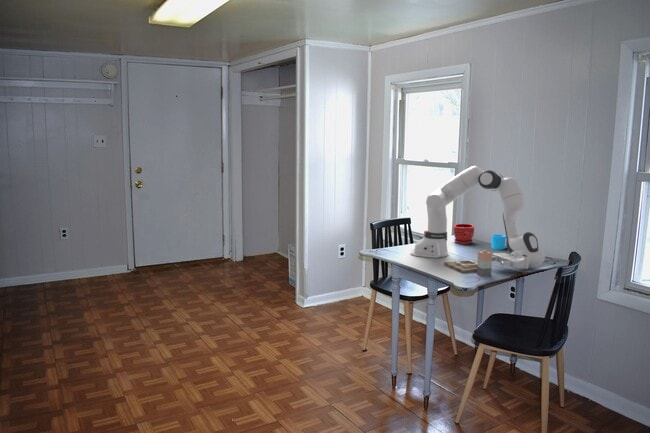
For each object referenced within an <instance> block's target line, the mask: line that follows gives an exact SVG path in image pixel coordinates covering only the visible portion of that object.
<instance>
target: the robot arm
mask: <svg viewBox="0 0 650 433" xmlns="http://www.w3.org/2000/svg"><path fill="white" fill-rule="evenodd" d="M478 185H479V186H480V187H481V188H483V189H485V190H487V191H491V192H493V191H494V192H495V191H496V192H498V193H499V194H500V198H501V200H502V205H503V206H502V208H503V210H502V211H503V212H502V219H503V225H504V226H503V227H504V231H505V236H506V238H505V246H507V247H506V249H507V251H508V252H509V253H510V254H509V253H505V252H494V253H492V262H494V261H495V262H498V263H500V265H501V266H507V267H511V268H513V269H519V270H521V269H524V270H528V269H529V267H533V266H534V267H535V266H538V265H541V264H543V263H544V261H545V259H546V253H545V251H544V249H542V248H541V246H540V245H539V241H538V237H537V236H536V235H535V234H534V233H532V232H529V231H528V232H527V231H526V232H524V233H521V234H518V230H517V226H516V218H517V216H518V215H519V214H520V212H521V211H522V210H523V208H524V206H525V197H524V195H523V192H522V189H521V187H520V185H519V183H518V181H517V179H516V178H515V177H511V176H509V177H503V175H502V174H501V173H499V172H497V171H495V170H491V169H486V170H482V168H481V167H479V166H477V165H473V166H470V167H468V168H467V169H466V168H465V170H463V171H461V172H460V173H458V174H457V175H455V176H454V177H453V178H451V179H450V180H448V181H447V182H445V183H444V184H443V185H442V186H440V187H439V188H437V189H436V190H435V191H433V192H431V193H429V194H428V195H427V197H426V201H425V202H426V203H425V204H426V211H427V218H428V219H427V230H424V232H423V234H424V237H422V238H420V240H418V241H417V242H416V243H415V246H414V249H412V250H411V251H410V255H411V256H414V257H424V258H432V259H433V258H435V259H438V258H444V257H448V256H449V252H448V251H449V250H448V244H447V243H448V242H447V241H448V231H447V228H448V224H447V223H448V217H447V209H446V206H448V205H449V204H451V203H452V202H454V201H455V200H457V199H458V198H460V197H461V196H463V195H464V194H466V193H467V192H469V191H470V190H471V189H473V188H474V187H476V186H478Z"/></svg>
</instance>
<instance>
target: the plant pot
mask: <svg viewBox="0 0 650 433" xmlns="http://www.w3.org/2000/svg"><path fill="white" fill-rule="evenodd" d="M474 234H475V226H474V225H473V224H472V223H471V224H469V223H457V224H454V225H453V235H454V237H455V239H454V242H455V243H456V244H460V245H470V244H471V243H473V237H474Z"/></svg>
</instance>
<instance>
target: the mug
mask: <svg viewBox="0 0 650 433" xmlns="http://www.w3.org/2000/svg"><path fill="white" fill-rule="evenodd" d="M492 248H493V250H499V251H500V250H505V249H506V248H507V245H506V234H505V235H504V234H491V249H492Z"/></svg>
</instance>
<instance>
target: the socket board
mask: <svg viewBox="0 0 650 433" xmlns="http://www.w3.org/2000/svg"><path fill="white" fill-rule="evenodd" d="M443 264H444V265H443V266H446V267H448V268H450V269H452V270H455V271H457V272H460V273H461V274H468V273H475V272H476V273H477V264H478V260H474V259H464V260H462V259H461V260H456V261H454V260H453V261H445V262H444V263H443Z"/></svg>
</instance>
